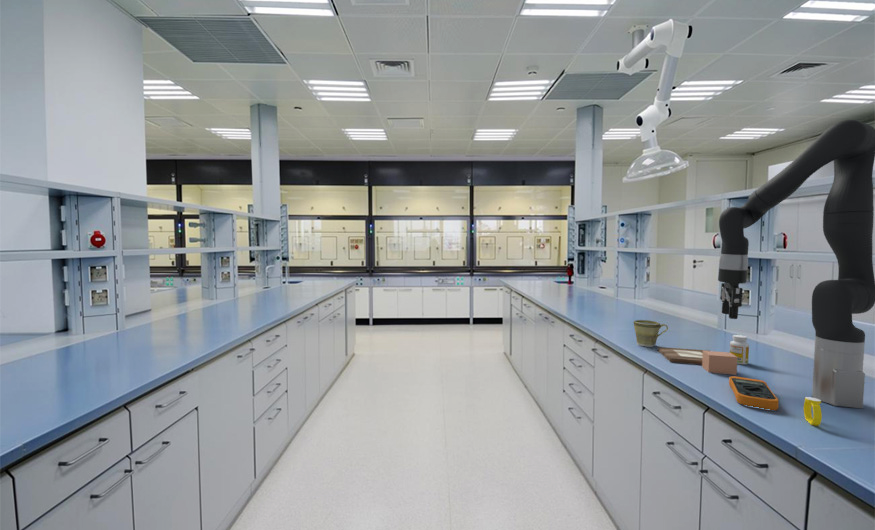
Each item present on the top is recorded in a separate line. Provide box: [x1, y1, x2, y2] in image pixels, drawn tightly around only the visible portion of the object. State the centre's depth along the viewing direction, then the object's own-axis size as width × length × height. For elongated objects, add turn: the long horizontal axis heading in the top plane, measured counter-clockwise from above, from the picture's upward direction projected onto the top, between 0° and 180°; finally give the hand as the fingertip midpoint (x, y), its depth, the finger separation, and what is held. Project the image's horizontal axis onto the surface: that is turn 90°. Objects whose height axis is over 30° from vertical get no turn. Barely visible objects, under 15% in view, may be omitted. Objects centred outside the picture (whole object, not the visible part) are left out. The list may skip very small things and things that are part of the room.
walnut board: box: [657, 346, 710, 366], centre depth 143 cm, size 16×18×2 cm
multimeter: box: [728, 375, 780, 411], centre depth 106 cm, size 9×18×3 cm, turn 149°
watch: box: [803, 396, 823, 427], centre depth 90 cm, size 6×3×6 cm, turn 153°
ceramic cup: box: [633, 319, 669, 348], centre depth 161 cm, size 13×10×10 cm
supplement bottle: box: [729, 334, 750, 365], centre depth 138 cm, size 5×5×10 cm
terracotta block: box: [701, 350, 738, 376], centre depth 128 cm, size 6×8×6 cm
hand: (729, 316), depth 127 cm, fingers open, 8 cm apart
